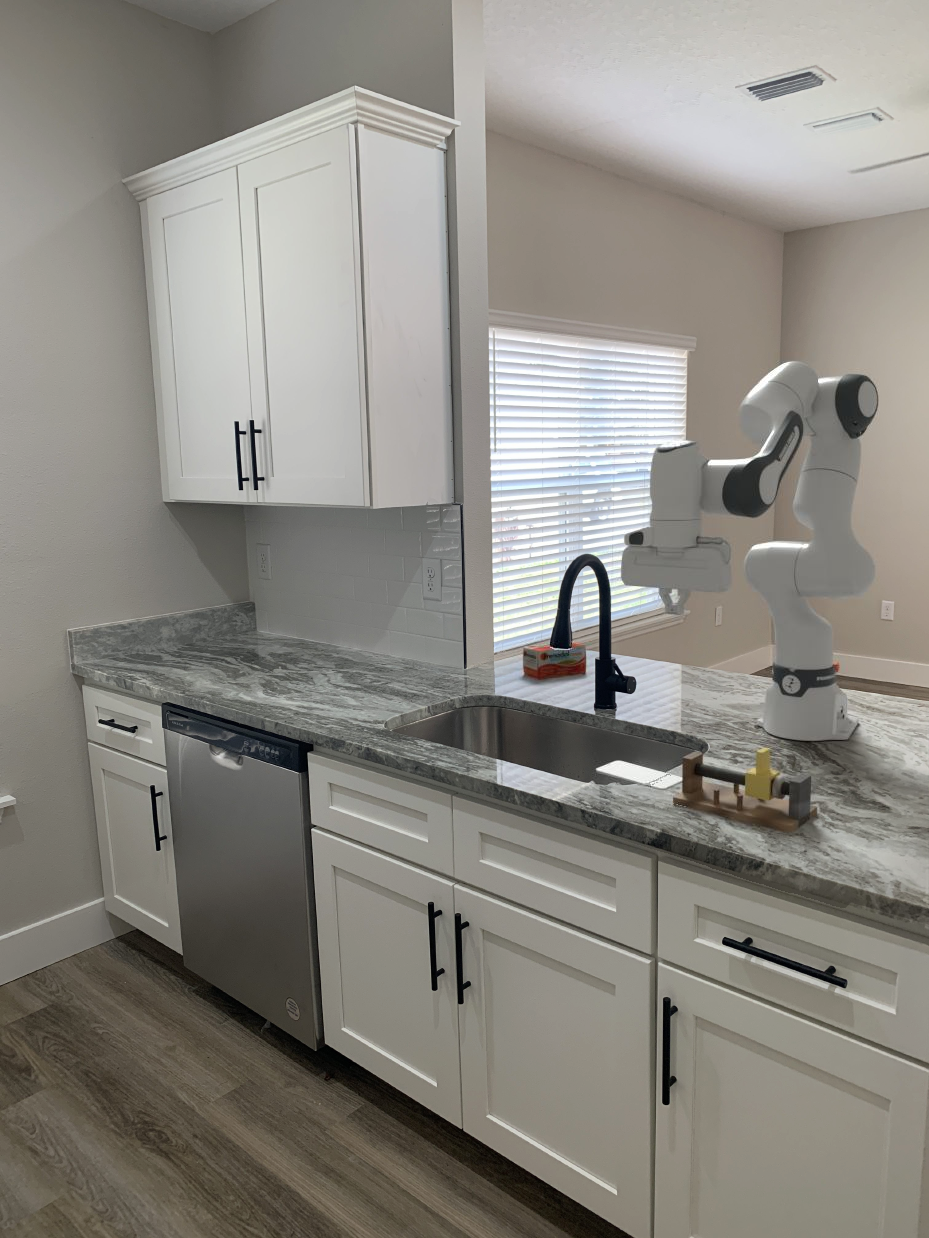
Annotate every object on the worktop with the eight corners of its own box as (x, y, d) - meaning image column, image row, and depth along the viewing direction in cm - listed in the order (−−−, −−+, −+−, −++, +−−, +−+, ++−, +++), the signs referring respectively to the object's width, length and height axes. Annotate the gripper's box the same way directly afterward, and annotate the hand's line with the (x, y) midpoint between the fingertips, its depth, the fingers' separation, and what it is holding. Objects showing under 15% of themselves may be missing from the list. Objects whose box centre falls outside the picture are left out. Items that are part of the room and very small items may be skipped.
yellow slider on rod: (672, 803, 155) (673, 762, 154) (702, 787, 162) (702, 747, 161) (790, 833, 142) (792, 787, 141) (816, 813, 149) (818, 770, 148)
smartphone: (663, 789, 162) (593, 769, 172) (663, 793, 162) (593, 773, 172) (686, 778, 167) (617, 759, 177) (686, 782, 167) (617, 763, 177)
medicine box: (570, 668, 258) (569, 639, 256) (587, 674, 250) (586, 644, 249) (522, 675, 251) (522, 646, 249) (538, 681, 244) (538, 651, 242)
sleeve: (744, 795, 150) (746, 750, 148) (755, 788, 152) (756, 744, 151) (768, 800, 147) (770, 755, 146) (779, 794, 150) (780, 749, 148)
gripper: (739, 536, 159) (737, 617, 161) (635, 532, 173) (634, 607, 175) (721, 539, 154) (720, 622, 157) (616, 535, 168) (616, 611, 170)
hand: (674, 614), depth 166 cm, fingers closed
